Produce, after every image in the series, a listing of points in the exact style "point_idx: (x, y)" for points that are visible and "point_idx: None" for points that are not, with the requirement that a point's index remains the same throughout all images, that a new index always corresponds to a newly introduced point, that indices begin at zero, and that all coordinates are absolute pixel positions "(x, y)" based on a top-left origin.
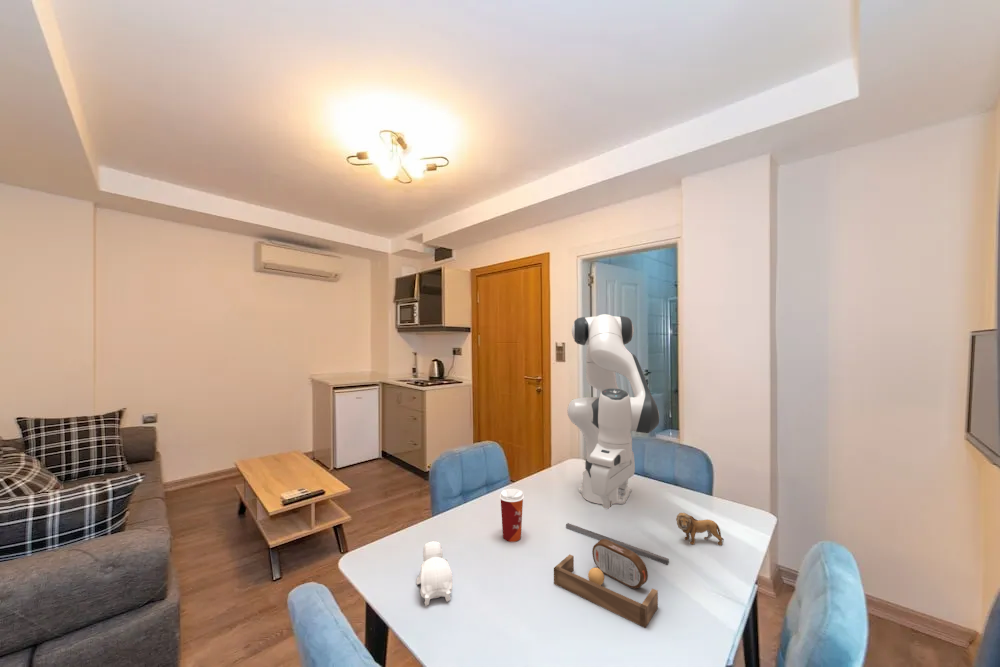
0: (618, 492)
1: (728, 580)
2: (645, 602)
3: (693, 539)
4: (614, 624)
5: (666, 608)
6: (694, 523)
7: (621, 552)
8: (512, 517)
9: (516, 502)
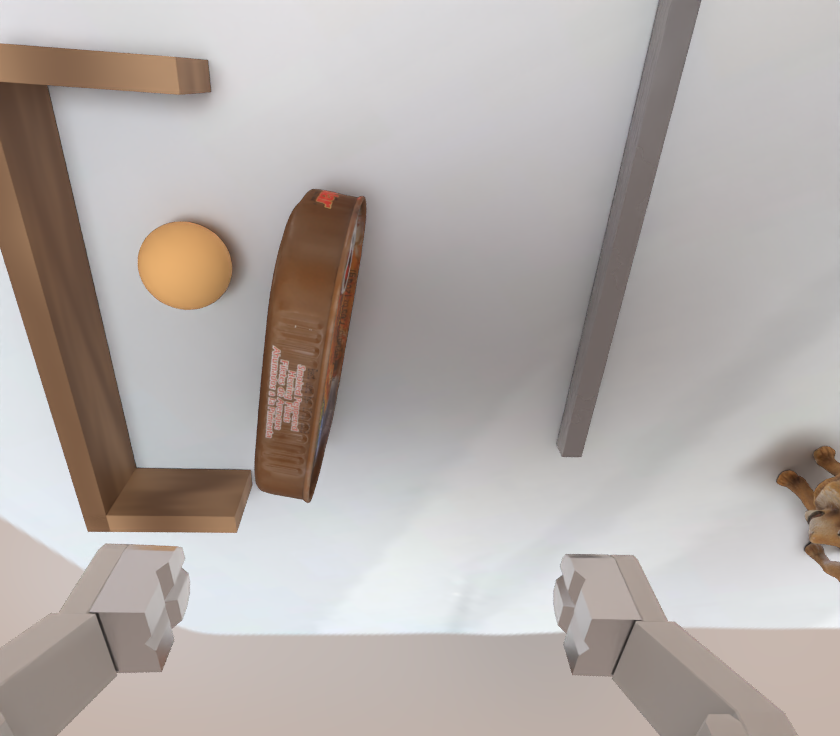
0: (579, 580)
1: None
2: (125, 522)
3: (797, 495)
4: (39, 405)
5: (273, 503)
6: None
7: (266, 428)
8: None
9: None
